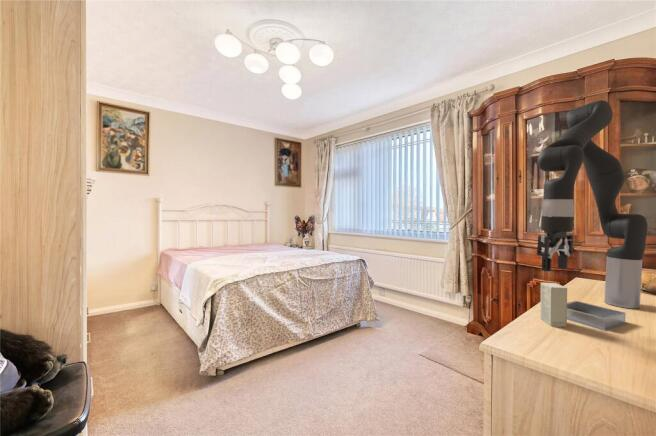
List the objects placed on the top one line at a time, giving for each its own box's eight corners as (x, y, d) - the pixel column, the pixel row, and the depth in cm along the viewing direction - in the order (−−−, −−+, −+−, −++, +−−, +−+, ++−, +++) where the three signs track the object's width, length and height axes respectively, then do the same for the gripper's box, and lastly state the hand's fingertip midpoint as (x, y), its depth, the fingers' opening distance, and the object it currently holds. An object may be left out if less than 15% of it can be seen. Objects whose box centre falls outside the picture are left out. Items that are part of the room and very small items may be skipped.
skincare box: (567, 330, 85) (569, 288, 84) (549, 328, 86) (551, 287, 85) (555, 321, 91) (556, 282, 90) (538, 320, 92) (540, 281, 91)
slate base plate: (573, 310, 101) (573, 308, 101) (629, 325, 88) (629, 323, 88) (550, 316, 95) (550, 314, 95) (606, 334, 82) (606, 331, 82)
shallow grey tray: (575, 309, 100) (575, 300, 100) (625, 322, 89) (625, 312, 89) (554, 314, 95) (554, 305, 94) (604, 329, 83) (605, 319, 83)
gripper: (556, 214, 93) (553, 265, 94) (529, 214, 87) (526, 269, 88) (585, 215, 87) (582, 270, 87) (558, 215, 80) (555, 274, 81)
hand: (554, 269), depth 88 cm, fingers open, 8 cm apart
